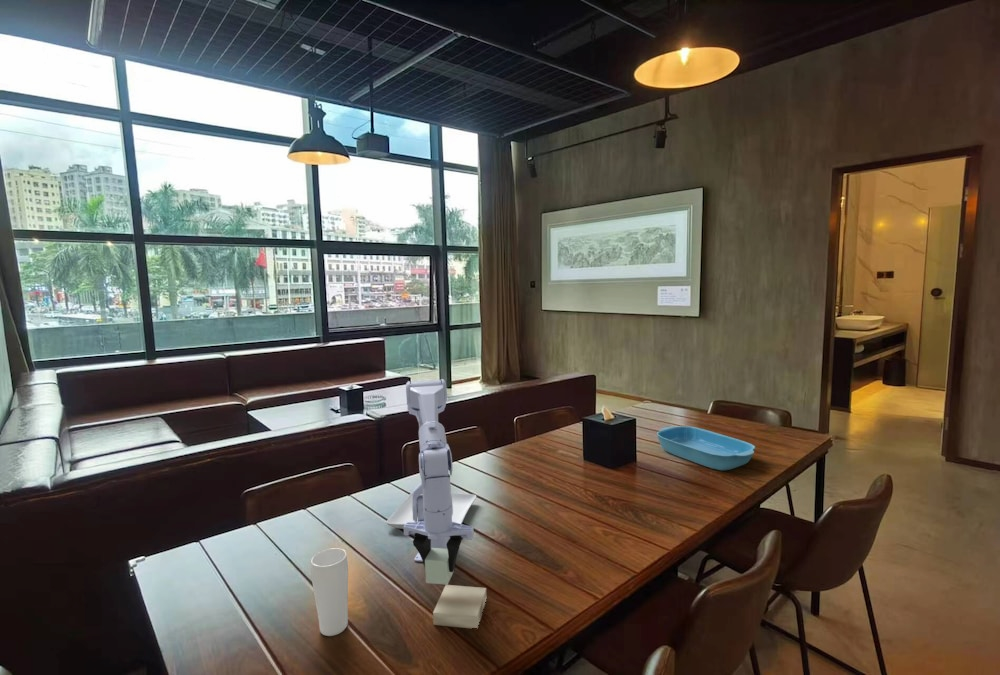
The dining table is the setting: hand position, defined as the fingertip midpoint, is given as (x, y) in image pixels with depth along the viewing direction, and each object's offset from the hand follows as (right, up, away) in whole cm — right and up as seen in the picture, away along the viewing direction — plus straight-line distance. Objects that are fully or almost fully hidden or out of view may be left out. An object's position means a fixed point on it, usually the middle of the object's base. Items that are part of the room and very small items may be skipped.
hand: (440, 568), depth 100 cm
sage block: (0, -2, 0) cm, 2 cm away
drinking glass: (-21, -10, -5) cm, 23 cm away
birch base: (+4, -9, -1) cm, 10 cm away
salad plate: (-7, -5, +41) cm, 41 cm away
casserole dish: (+90, +2, +83) cm, 122 cm away
